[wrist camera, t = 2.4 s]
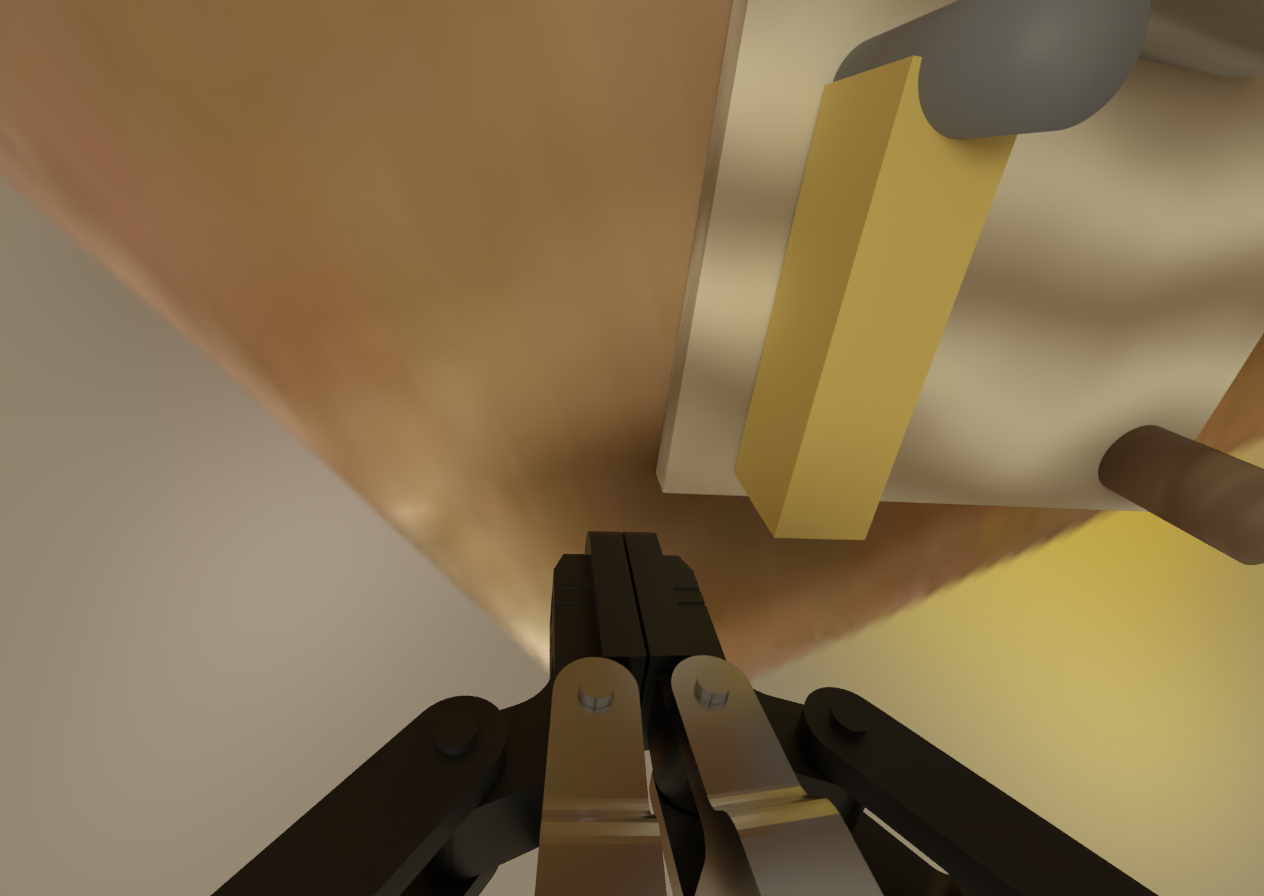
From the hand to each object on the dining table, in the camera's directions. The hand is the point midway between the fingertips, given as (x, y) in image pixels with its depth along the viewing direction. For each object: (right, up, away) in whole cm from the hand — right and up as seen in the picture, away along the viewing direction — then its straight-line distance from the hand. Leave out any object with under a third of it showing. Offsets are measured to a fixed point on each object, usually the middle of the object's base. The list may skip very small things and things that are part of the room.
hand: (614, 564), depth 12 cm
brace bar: (+6, +8, +5) cm, 11 cm away
